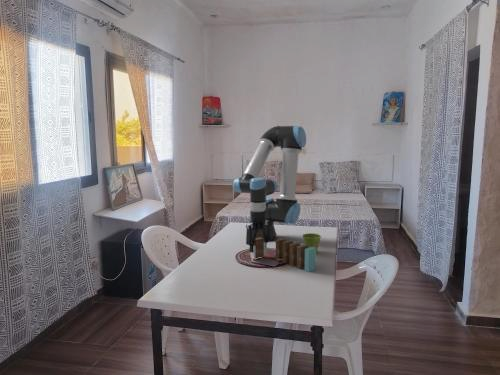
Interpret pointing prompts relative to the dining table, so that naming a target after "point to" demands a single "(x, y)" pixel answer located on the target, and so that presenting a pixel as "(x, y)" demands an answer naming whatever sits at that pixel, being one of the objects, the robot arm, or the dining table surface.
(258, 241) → the domino
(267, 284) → the dining table surface
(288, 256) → the domino
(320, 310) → the dining table surface
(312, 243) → the plant pot
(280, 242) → the domino
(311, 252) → the domino
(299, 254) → the domino
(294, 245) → the domino
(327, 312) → the dining table surface
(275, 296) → the dining table surface
